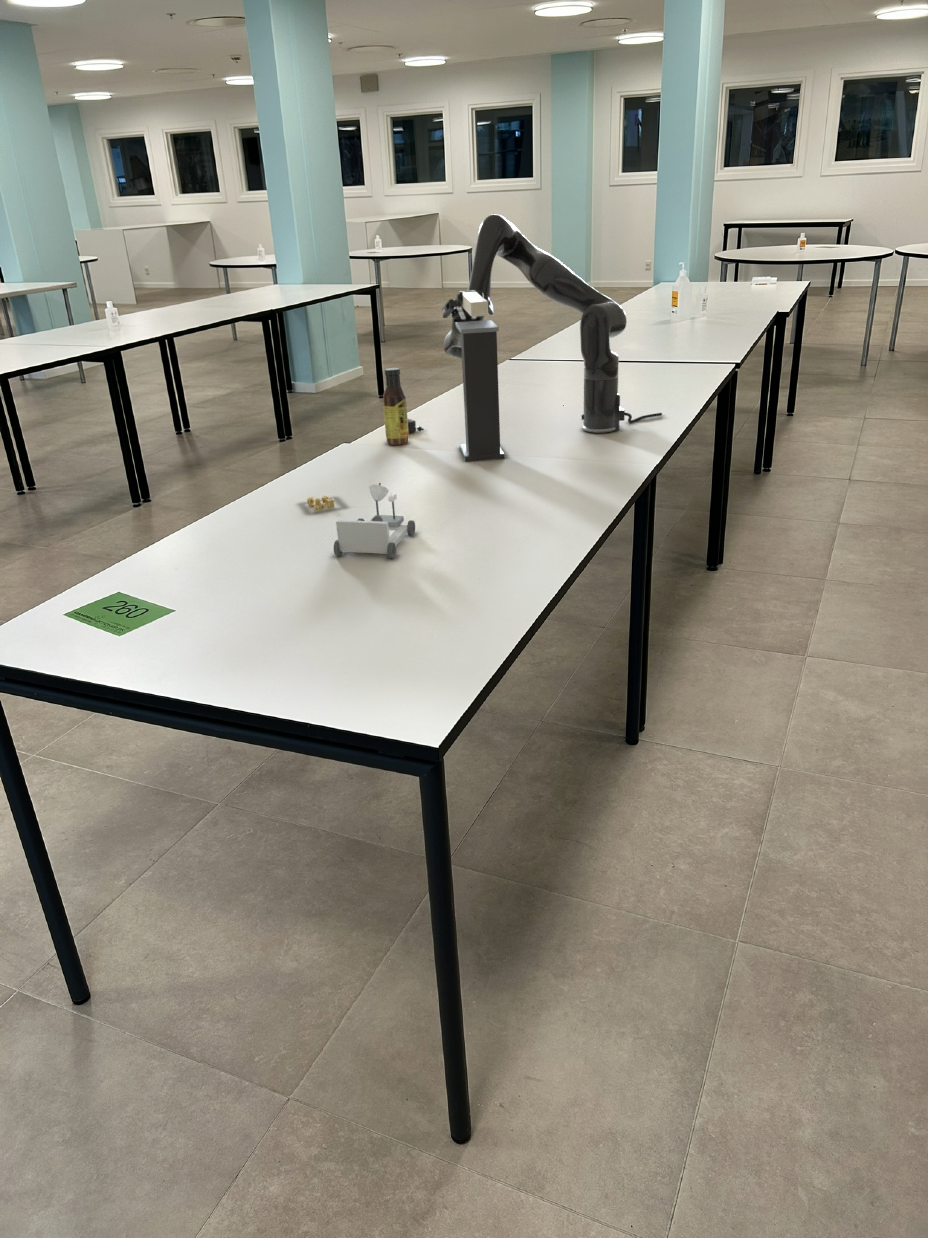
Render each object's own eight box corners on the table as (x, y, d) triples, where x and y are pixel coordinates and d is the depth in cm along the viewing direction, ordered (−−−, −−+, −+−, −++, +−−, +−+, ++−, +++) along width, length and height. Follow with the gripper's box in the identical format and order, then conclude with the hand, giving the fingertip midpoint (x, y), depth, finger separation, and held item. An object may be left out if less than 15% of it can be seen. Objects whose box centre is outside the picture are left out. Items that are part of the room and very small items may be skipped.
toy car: (361, 480, 182) (416, 481, 179) (366, 525, 186) (419, 527, 184) (328, 508, 167) (387, 510, 164) (334, 557, 171) (391, 560, 168)
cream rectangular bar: (476, 303, 232) (475, 290, 230) (488, 315, 210) (488, 300, 209) (460, 305, 232) (459, 291, 230) (470, 316, 210) (470, 301, 208)
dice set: (307, 505, 201) (306, 497, 200) (329, 501, 203) (328, 493, 202) (313, 512, 197) (312, 503, 196) (335, 508, 198) (334, 499, 197)
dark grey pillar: (497, 445, 238) (493, 319, 225) (504, 458, 227) (500, 326, 213) (459, 448, 238) (453, 322, 224) (465, 461, 226) (458, 329, 212)
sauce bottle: (405, 446, 242) (400, 371, 234) (383, 445, 244) (377, 371, 235) (412, 439, 248) (406, 366, 240) (390, 439, 249) (384, 366, 241)
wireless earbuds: (410, 434, 254) (410, 423, 252) (396, 430, 259) (395, 419, 257) (424, 431, 256) (423, 420, 255) (409, 427, 261) (408, 416, 260)
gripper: (438, 311, 241) (440, 282, 224) (490, 307, 242) (497, 278, 225) (440, 338, 241) (443, 311, 224) (493, 334, 242) (500, 307, 225)
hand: (470, 294), depth 225 cm, fingers closed on cream rectangular bar, 4 cm apart
